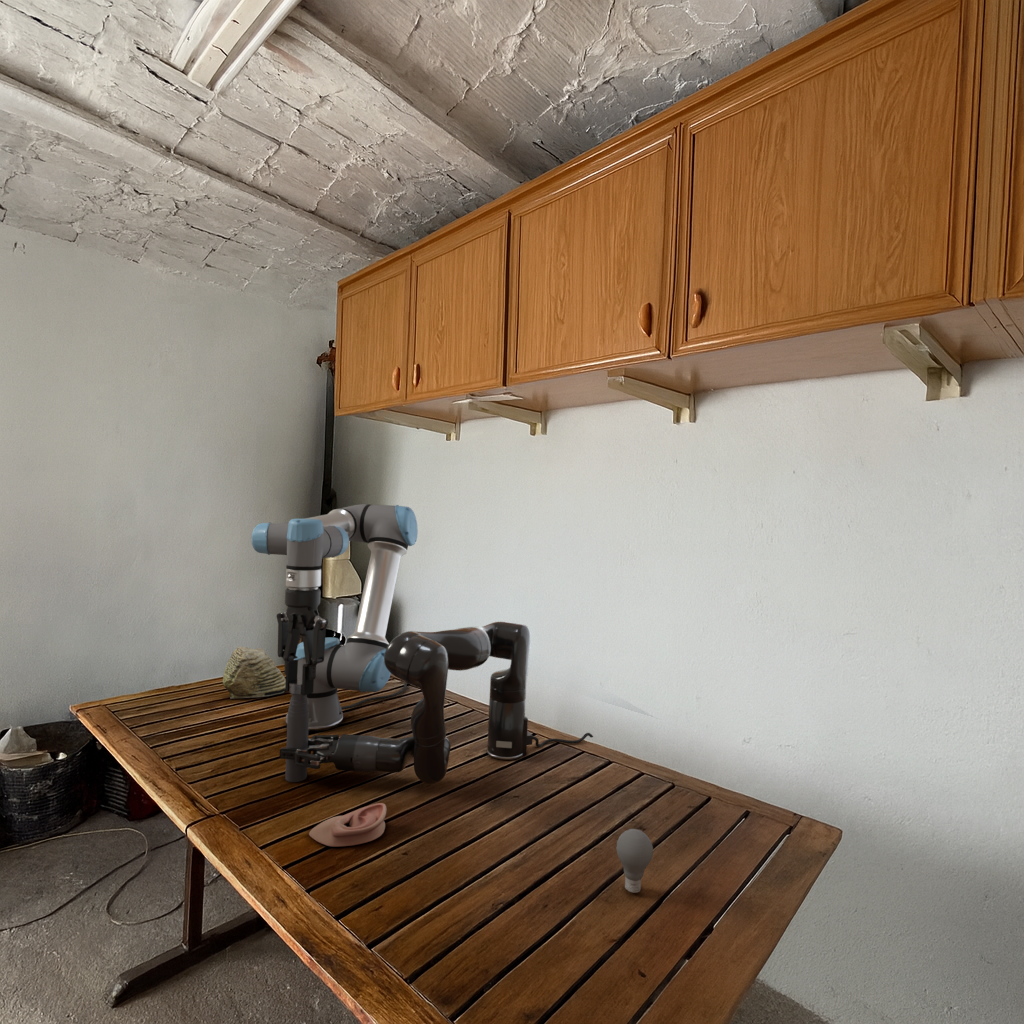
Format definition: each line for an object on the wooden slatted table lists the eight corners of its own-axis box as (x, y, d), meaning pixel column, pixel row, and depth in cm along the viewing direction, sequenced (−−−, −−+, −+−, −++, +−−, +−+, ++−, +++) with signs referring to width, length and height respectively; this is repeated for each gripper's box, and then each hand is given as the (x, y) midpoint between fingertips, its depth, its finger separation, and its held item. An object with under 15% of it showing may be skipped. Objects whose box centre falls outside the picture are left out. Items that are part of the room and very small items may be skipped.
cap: (313, 691, 142) (313, 682, 142) (294, 695, 139) (295, 685, 139) (303, 687, 145) (303, 677, 145) (285, 690, 142) (285, 681, 142)
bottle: (281, 777, 142) (285, 683, 142) (300, 771, 145) (304, 680, 145) (290, 784, 139) (294, 688, 139) (310, 778, 142) (313, 684, 142)
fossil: (218, 695, 195) (220, 647, 195) (278, 685, 208) (279, 640, 207) (228, 703, 189) (230, 653, 188) (289, 692, 201) (290, 645, 201)
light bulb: (610, 879, 108) (613, 822, 108) (644, 879, 109) (647, 822, 109) (619, 902, 102) (622, 840, 102) (655, 901, 103) (658, 840, 103)
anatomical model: (301, 820, 116) (331, 792, 127) (300, 842, 116) (330, 812, 127) (368, 831, 113) (393, 801, 124) (368, 853, 113) (392, 821, 124)
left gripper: (262, 585, 142) (258, 689, 142) (320, 593, 134) (315, 703, 134) (288, 582, 149) (284, 681, 149) (344, 590, 141) (340, 694, 141)
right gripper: (369, 725, 148) (298, 720, 149) (350, 749, 134) (271, 743, 135) (368, 756, 148) (296, 752, 149) (349, 784, 134) (270, 778, 135)
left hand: (299, 691), depth 142 cm, fingers closed on cap, 4 cm apart
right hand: (285, 748), depth 142 cm, fingers closed on bottle, 4 cm apart
